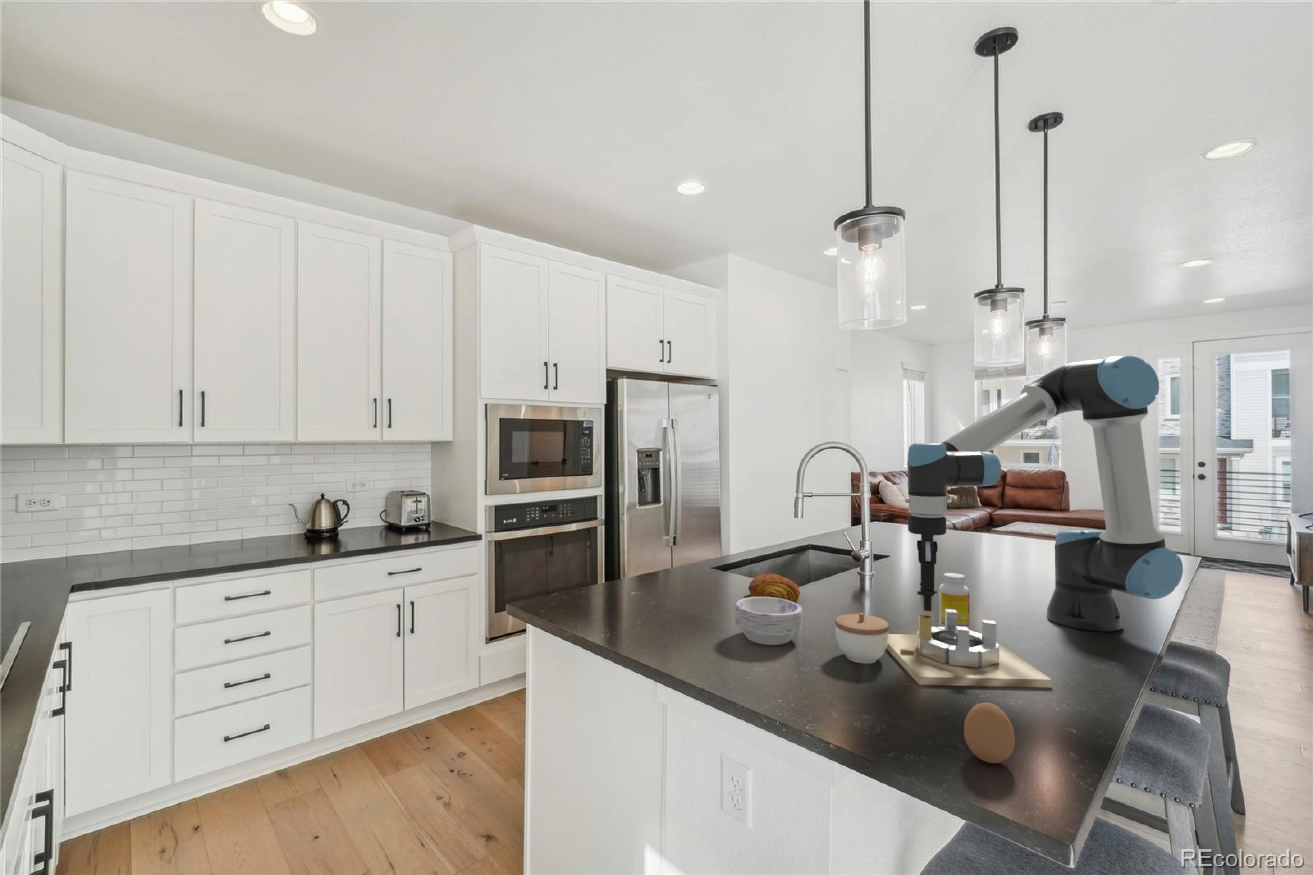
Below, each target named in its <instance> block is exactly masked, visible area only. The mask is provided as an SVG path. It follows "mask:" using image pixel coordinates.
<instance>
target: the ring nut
mask: <svg viewBox="0 0 1313 875" xmlns="http://www.w3.org/2000/svg"><path fill="white" fill-rule="evenodd" d="M946 632H953V633H956V646H952V645H948V644H945V643H942V642H939V635H940V634H941V633H946ZM916 635H917V647H918V649H919V652H920V654H922V655H923V656H926V657H929V658H931V659H934V660H937V661H939V662H942V663H948V664H949V665H958V666H968V667H979V666H980V667H985V666H988V665H992V664H995V663H998V661H999V645H998V644H997V643H998V642H997V623H996V622H995V620H988V619H982V620H981V633H980V632H976V631H973V630H971V629H970V628H969V629H968V628H967V627H961V626H957V612H956V610H951V609H945V627H941V626H938V625H937V626H931V617H930V616H928V615H920V614H918V630H917V631H916ZM969 636H970V637H972V638H973V639H974V647H969ZM996 642H997V643H996Z"/></svg>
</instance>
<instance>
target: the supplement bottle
mask: <svg viewBox="0 0 1313 875" xmlns="http://www.w3.org/2000/svg"><path fill="white" fill-rule="evenodd" d="M942 576H943V581H944V582H943V583H941V584H940V585H939V587H938V625H939V627H945V609H951V610H956V612H957V626H961V627H967V628H968V629H969V630H970V589H969V587H967V585H965V581H966V576H965V575H964V574H961V573H956V572H955V573H954V572H946V573H945V572H944V573H943V575H942Z"/></svg>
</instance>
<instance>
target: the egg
mask: <svg viewBox="0 0 1313 875" xmlns="http://www.w3.org/2000/svg"><path fill="white" fill-rule="evenodd" d="M963 735H964V736H963V737H964V739H965V743H966V744H967V746H968V749H969V750H970V751H971V752H972V753H973V755H974V756H976V757H977V758H978V759H979V760H981V761H982V762H986V763H988V764H1000V763H1002V762H1004V761H1007V759H1009V758H1010V757H1011V756H1012V753H1013V751H1014V749H1015V746H1016V745H1015V744H1016V737H1015V736H1016V735H1015V731H1014V726H1013V725H1012V723H1011V721H1010V719H1009V717H1008V716H1007V714H1006V713H1005V711H1004V710H1003V709H1001V708H1000V706H997V705H996V704H994V703H990V702H981V703H978V704H975V705H974V706H973V707H972V708H971V709H970V710H969V712H968V713H967V715H966V716H965V720H964V724H963Z"/></svg>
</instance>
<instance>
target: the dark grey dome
mask: <svg viewBox="0 0 1313 875" xmlns="http://www.w3.org/2000/svg"><path fill="white" fill-rule="evenodd" d="M939 642H942V643H945V644H948V645H952V646H956V633H953V632H946V633H941V634H940V635H939ZM969 647H974V639H973V638H972V637H970V636H969Z"/></svg>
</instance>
